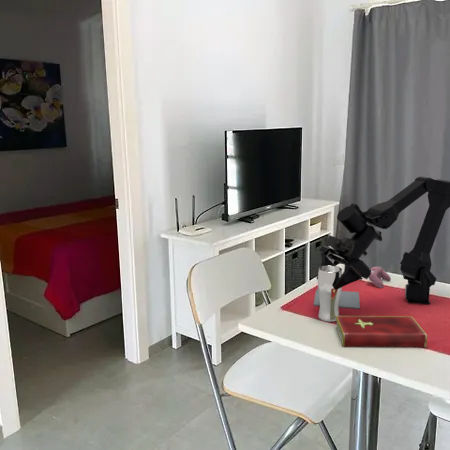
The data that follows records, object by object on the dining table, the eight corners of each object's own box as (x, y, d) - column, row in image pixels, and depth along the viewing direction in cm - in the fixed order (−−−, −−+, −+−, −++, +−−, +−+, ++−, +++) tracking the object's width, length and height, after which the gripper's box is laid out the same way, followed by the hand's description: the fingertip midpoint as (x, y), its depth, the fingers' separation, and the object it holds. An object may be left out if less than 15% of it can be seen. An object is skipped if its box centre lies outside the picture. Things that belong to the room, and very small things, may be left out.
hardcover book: (426, 349, 123) (427, 334, 122) (342, 348, 125) (343, 333, 124) (411, 329, 135) (412, 315, 134) (334, 328, 136) (335, 314, 135)
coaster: (358, 293, 162) (358, 292, 162) (359, 309, 149) (359, 307, 149) (316, 290, 165) (316, 289, 165) (313, 305, 152) (313, 304, 152)
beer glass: (341, 323, 139) (343, 273, 136) (316, 321, 140) (317, 271, 137) (340, 313, 145) (342, 265, 142) (316, 312, 147) (318, 264, 144)
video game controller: (380, 283, 176) (372, 265, 177) (392, 279, 173) (384, 261, 174) (371, 291, 168) (363, 272, 169) (383, 287, 166) (375, 268, 166)
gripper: (324, 219, 147) (292, 259, 145) (364, 232, 130) (328, 277, 128) (345, 242, 151) (314, 280, 150) (386, 257, 134) (351, 300, 133)
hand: (325, 284), depth 140 cm, fingers open, 8 cm apart
